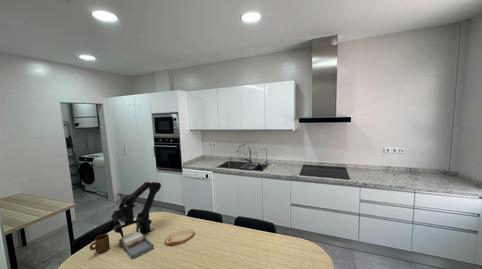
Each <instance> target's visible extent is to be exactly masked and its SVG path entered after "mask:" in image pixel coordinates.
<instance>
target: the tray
mask: <svg viewBox="0 0 482 269" xmlns="http://www.w3.org/2000/svg"><path fill="white" fill-rule="evenodd" d="M125 248H126V251H125V252H126V254H127V255H128V257H129V258H130V259H131V260H134V259H136V258H139V257H140V256H142V255H144V254H146V253H148V252H150V251H152V250H154V248H155V247H154V243H152V241H151V240H150V239H148V238H145V242H143V243H141V244H139V245H137V246H134V247H132V248H130V249H128V247H125Z"/></svg>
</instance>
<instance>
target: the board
mask: <svg viewBox="0 0 482 269" xmlns="http://www.w3.org/2000/svg"><path fill="white" fill-rule="evenodd" d="M139 232H140V231H139ZM140 233H141V232H140ZM141 234H142V233H141ZM142 235H143V238H142V239H140V240H138V241H135V242H133V243H131V244H129V245H125V244H124V243H123V241H122V238H120V239H119V245H120V247H121V248H122V250H123V251H124V252H126V248H125V247H128V249H130V248H132V247H134V246H137V245H139V244H141V243H143V242H145V238H147V236H146V235H145V234H142ZM147 239H148V238H147Z"/></svg>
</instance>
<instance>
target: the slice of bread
mask: <svg viewBox="0 0 482 269" xmlns="http://www.w3.org/2000/svg"><path fill="white" fill-rule="evenodd" d="M194 237H195V231H194V230H193V229H188V230H187V229H186V230H183V231H179V232H175V233H172V234H170V235H168V237H166V238H165V241H164V246H166V247H175V246H179V245H182V244H184V243H186V242H188V241H190V240H191V239H193V238H194Z"/></svg>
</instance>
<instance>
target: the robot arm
mask: <svg viewBox="0 0 482 269" xmlns="http://www.w3.org/2000/svg"><path fill="white" fill-rule="evenodd" d="M161 187H162V185H161V182H157V181H151V182H150V181H145V182H144V183H142V185H141V186H139V187H138V188H136V189H135V191H133V192H132V193H130V194H128V195H126V196H125V197H123V198H122V199H121V202H120V203H119V206H118V209H117V210H114V211H113V213H112V214H111V219H112V221H113V222H117V221H119V224H116V225H114V226H113V231H114V233H115V234H116V233H117V234H120V236H121V239H122V238H124V237H125V236H124V231H123V228H126V227H129V226H131V225H134V224H135V225H136V226H135V230H136V232H138V231H139V232H141V233H142V234H144V235H145V234H148V233H150V232H152V229H151V224H152V222H153V221H152V219H150V210H151V208H152V205H153V202H154V200H155V197H156V195H157V194H158V192H160V190H161ZM147 190H149V193H148V195H147V197H146V200H145V203H144V205H143V208H142V210H141V212H138V213H137V216H136V218H135V215H134V208H135V207H136V205H137V204H135V203H136V201H137V199H138V198H139V197H140V196H141V195H142V194H144V192H146V191H147ZM121 222H122V223H123V224H120V223H121ZM136 232H135V233H136Z"/></svg>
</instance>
